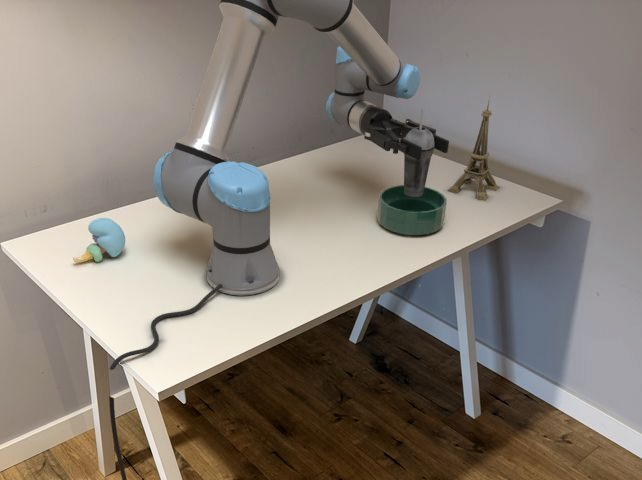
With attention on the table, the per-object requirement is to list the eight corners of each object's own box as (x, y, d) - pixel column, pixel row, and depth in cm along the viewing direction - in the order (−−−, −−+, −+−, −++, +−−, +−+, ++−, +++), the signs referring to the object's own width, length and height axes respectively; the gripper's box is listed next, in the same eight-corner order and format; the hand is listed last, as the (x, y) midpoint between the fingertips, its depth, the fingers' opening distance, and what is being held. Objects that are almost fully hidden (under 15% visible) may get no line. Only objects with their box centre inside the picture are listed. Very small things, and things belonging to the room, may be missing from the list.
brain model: (58, 225, 143) (110, 207, 149) (69, 261, 149) (119, 243, 154) (71, 238, 139) (125, 219, 144) (82, 274, 144) (133, 255, 150)
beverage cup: (430, 188, 163) (441, 104, 151) (426, 201, 158) (437, 114, 146) (400, 185, 165) (409, 101, 153) (395, 197, 159) (404, 111, 147)
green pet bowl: (430, 243, 157) (433, 218, 153) (367, 228, 163) (368, 203, 159) (451, 217, 169) (455, 192, 165) (391, 204, 174) (393, 180, 170)
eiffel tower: (499, 187, 184) (517, 93, 169) (484, 200, 177) (502, 103, 162) (463, 178, 189) (478, 85, 174) (447, 191, 182) (461, 95, 167)
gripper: (401, 129, 173) (464, 158, 157) (337, 143, 164) (396, 175, 148) (404, 99, 168) (469, 125, 153) (338, 112, 159) (400, 141, 144)
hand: (433, 150), depth 151 cm, fingers closed on beverage cup, 7 cm apart
